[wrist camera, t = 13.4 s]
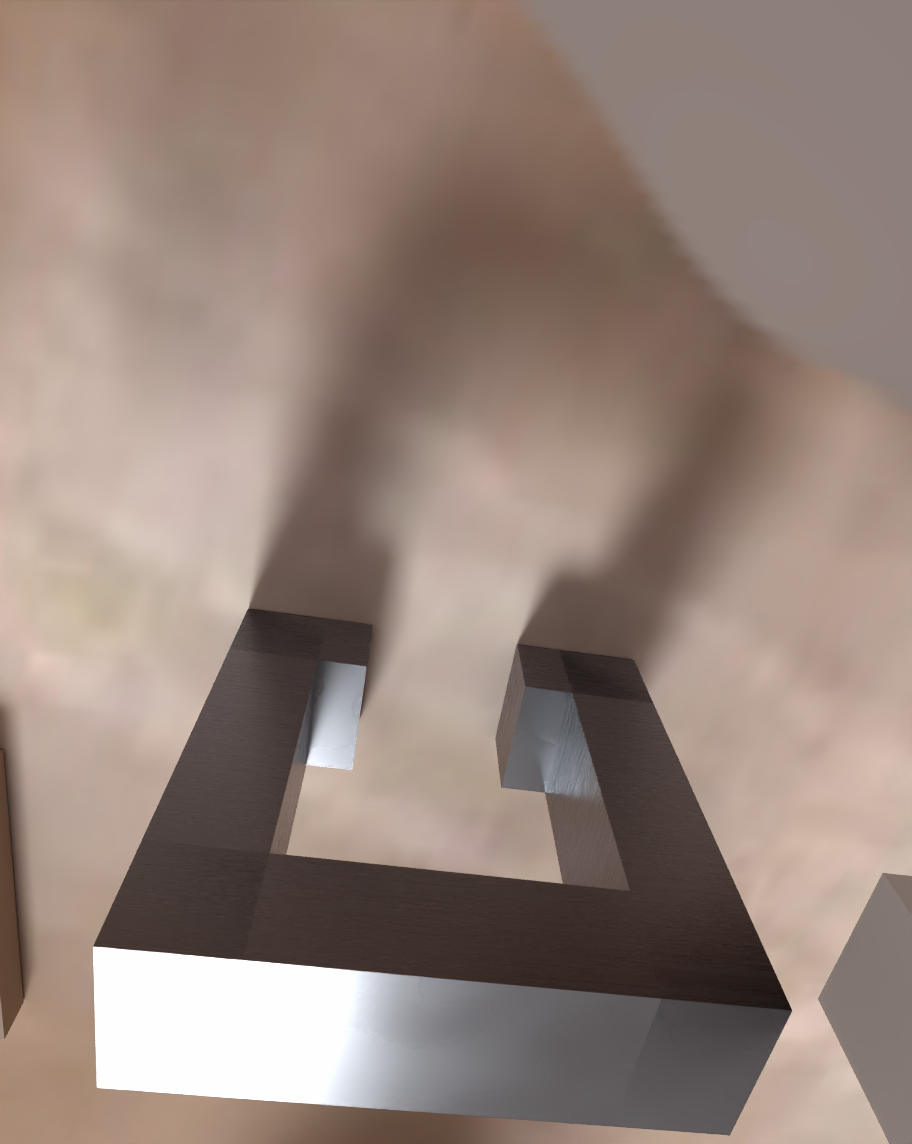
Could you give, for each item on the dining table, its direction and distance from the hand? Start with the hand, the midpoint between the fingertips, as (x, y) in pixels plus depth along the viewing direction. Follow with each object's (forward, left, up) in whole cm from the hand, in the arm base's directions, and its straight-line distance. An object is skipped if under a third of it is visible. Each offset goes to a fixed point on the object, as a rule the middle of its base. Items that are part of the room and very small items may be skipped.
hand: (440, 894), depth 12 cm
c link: (0, 0, -6) cm, 6 cm away
